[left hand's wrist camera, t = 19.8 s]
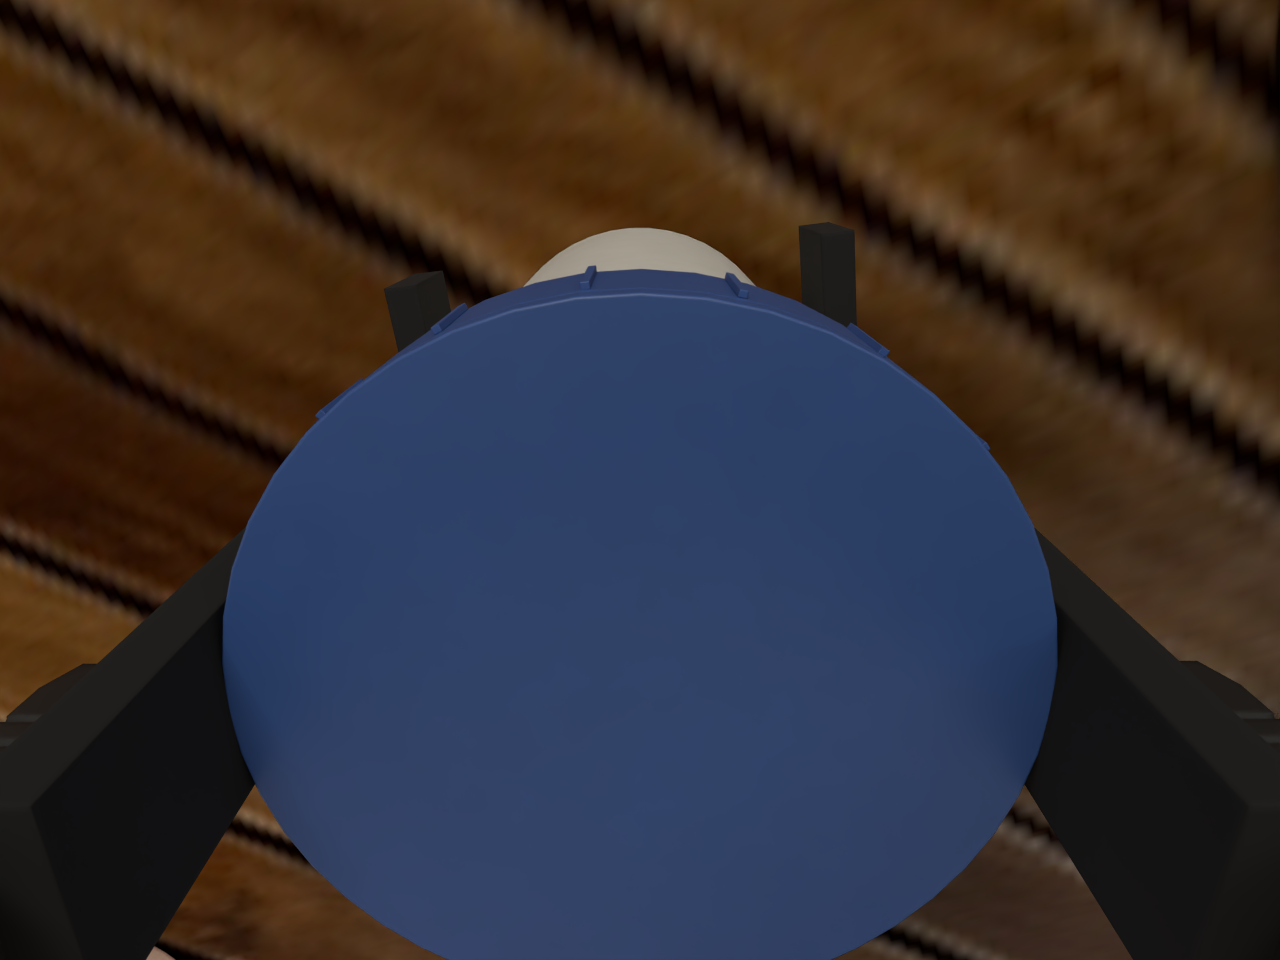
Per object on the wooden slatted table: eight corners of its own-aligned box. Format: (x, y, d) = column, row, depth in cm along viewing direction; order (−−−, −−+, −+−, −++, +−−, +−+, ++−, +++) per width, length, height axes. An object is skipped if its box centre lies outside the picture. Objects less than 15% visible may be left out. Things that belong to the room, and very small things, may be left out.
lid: (291, 854, 14) (233, 967, 12) (273, 207, 10) (185, 218, 8) (893, 915, 14) (933, 1033, 12) (1091, 321, 11) (1193, 357, 9)
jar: (680, 165, 25) (754, 168, 9) (830, 409, 27) (1093, 746, 12) (442, 336, 27) (149, 592, 11) (605, 548, 29) (565, 1002, 13)
